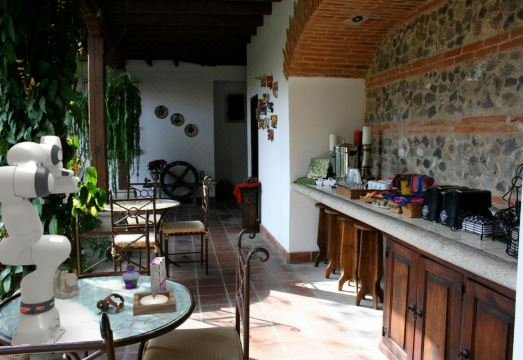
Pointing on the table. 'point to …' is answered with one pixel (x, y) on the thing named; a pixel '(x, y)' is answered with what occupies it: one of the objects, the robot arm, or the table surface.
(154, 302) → the dial
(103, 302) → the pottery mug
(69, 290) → the ceramic cottage
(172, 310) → the square wooden tray
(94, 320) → the table surface
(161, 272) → the candy bar box
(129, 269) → the potion bottle
